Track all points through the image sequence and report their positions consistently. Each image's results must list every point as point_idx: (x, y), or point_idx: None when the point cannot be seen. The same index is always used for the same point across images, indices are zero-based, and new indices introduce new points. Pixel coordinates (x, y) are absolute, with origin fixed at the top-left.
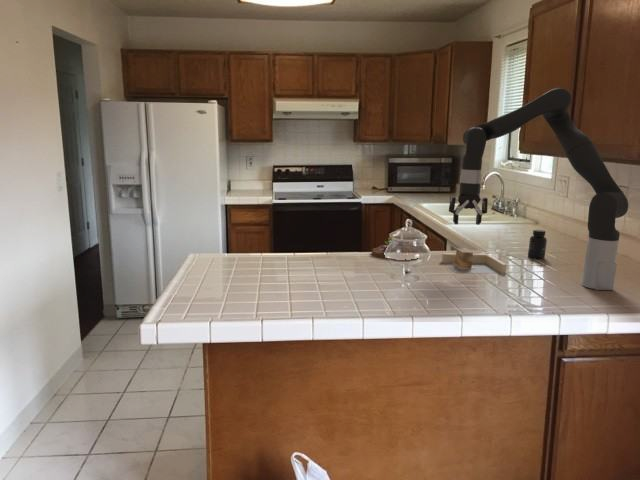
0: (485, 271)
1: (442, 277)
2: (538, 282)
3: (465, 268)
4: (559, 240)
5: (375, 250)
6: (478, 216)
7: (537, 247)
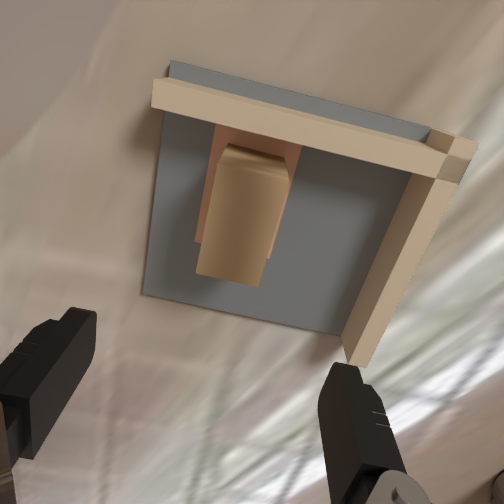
0: (289, 301)
1: None
2: (395, 422)
3: None
4: None
5: None
6: (331, 492)
7: None
